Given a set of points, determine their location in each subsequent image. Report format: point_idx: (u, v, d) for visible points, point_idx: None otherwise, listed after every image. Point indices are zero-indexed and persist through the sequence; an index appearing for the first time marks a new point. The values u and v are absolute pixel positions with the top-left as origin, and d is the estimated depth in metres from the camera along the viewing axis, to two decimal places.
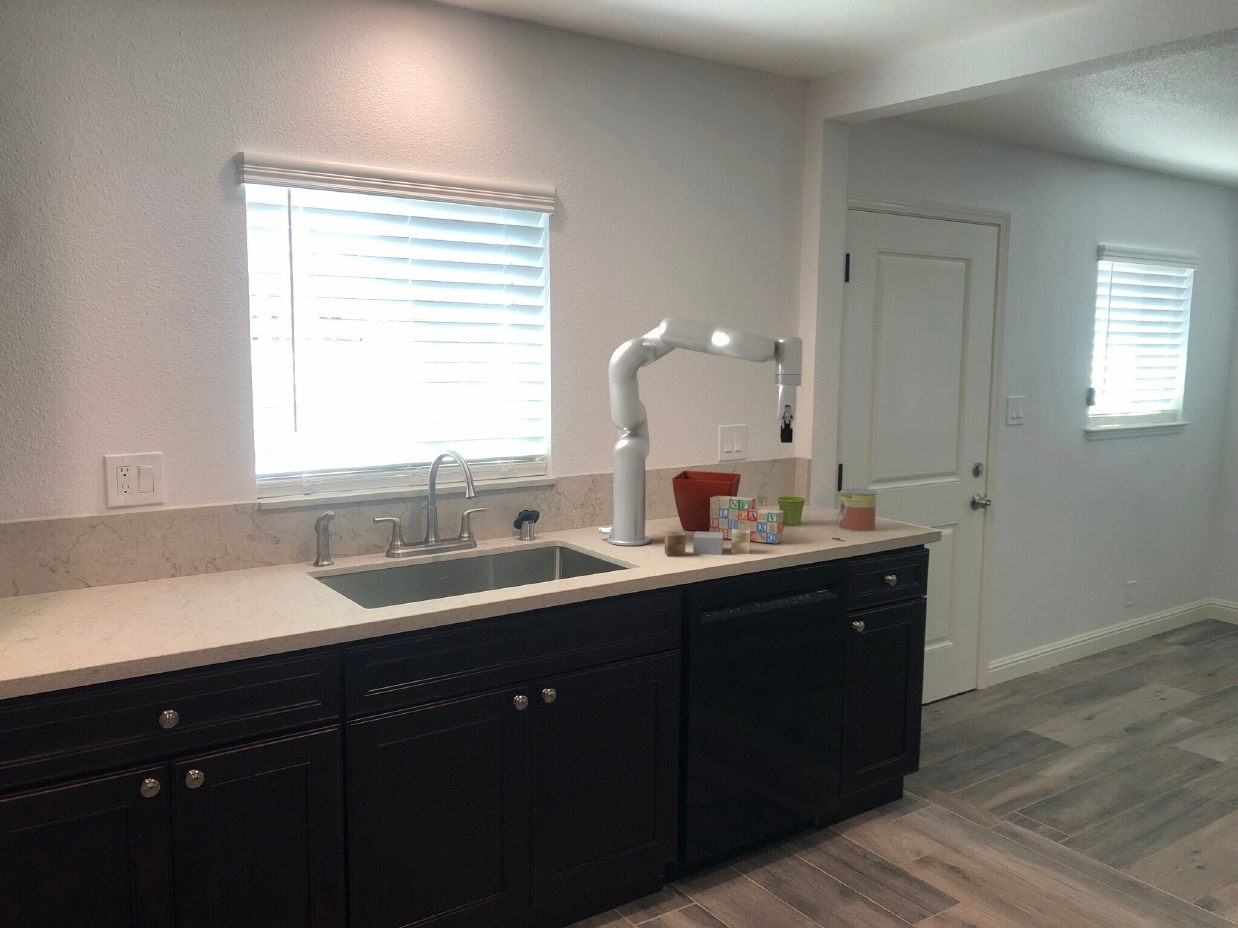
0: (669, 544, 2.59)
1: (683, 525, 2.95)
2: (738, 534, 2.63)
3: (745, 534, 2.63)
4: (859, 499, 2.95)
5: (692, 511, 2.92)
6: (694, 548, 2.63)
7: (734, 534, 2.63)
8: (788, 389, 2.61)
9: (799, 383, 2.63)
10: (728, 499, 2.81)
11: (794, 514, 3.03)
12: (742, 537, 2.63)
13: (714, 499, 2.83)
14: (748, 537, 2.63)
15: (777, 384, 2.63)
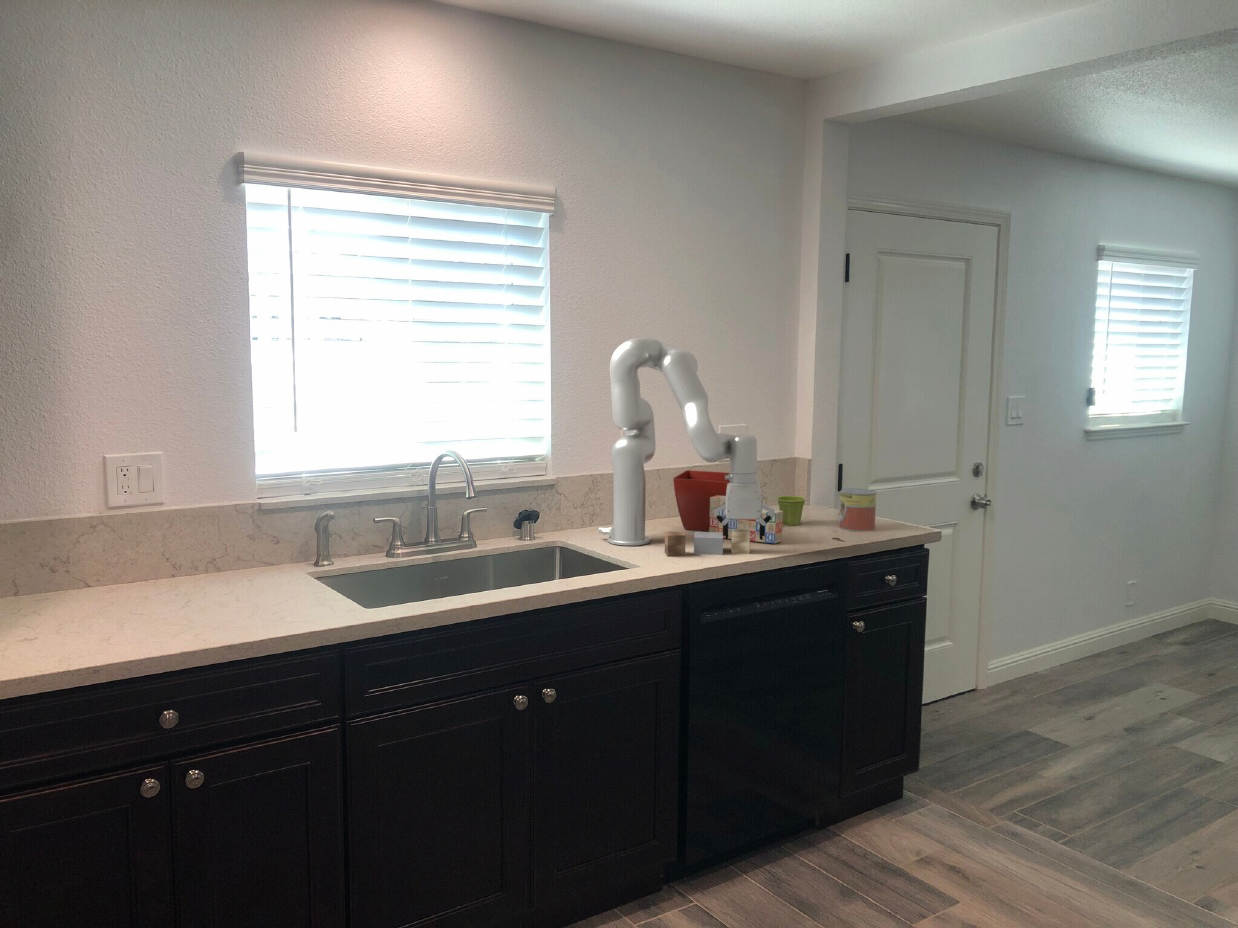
0: (669, 544, 2.59)
1: (684, 524, 2.96)
2: (738, 534, 2.63)
3: (745, 534, 2.63)
4: (859, 499, 2.95)
5: (693, 510, 2.93)
6: (695, 548, 2.63)
7: (734, 534, 2.63)
8: None
9: None
10: None
11: (794, 514, 3.03)
12: (742, 537, 2.63)
13: (714, 499, 2.84)
14: (748, 537, 2.63)
15: (751, 483, 2.61)
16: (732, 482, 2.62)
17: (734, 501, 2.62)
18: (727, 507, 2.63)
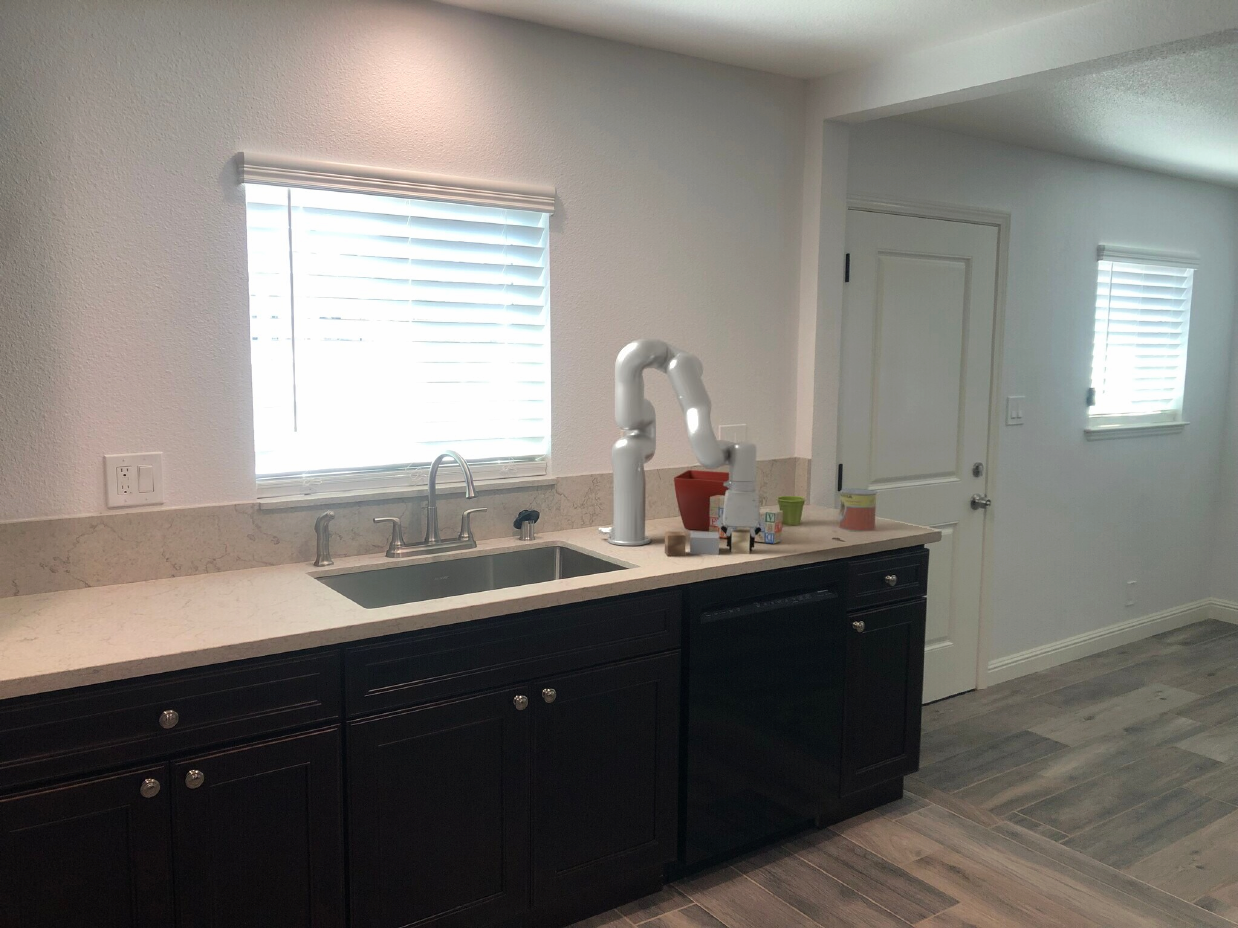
0: (669, 544, 2.59)
1: (685, 524, 2.97)
2: (738, 534, 2.63)
3: (745, 534, 2.63)
4: (859, 499, 2.95)
5: (693, 510, 2.94)
6: (691, 548, 2.63)
7: (734, 534, 2.63)
8: None
9: None
10: None
11: (794, 514, 3.03)
12: (742, 537, 2.63)
13: (714, 498, 2.84)
14: (748, 537, 2.63)
15: (750, 491, 2.61)
16: (730, 489, 2.62)
17: (732, 508, 2.62)
18: (725, 514, 2.63)
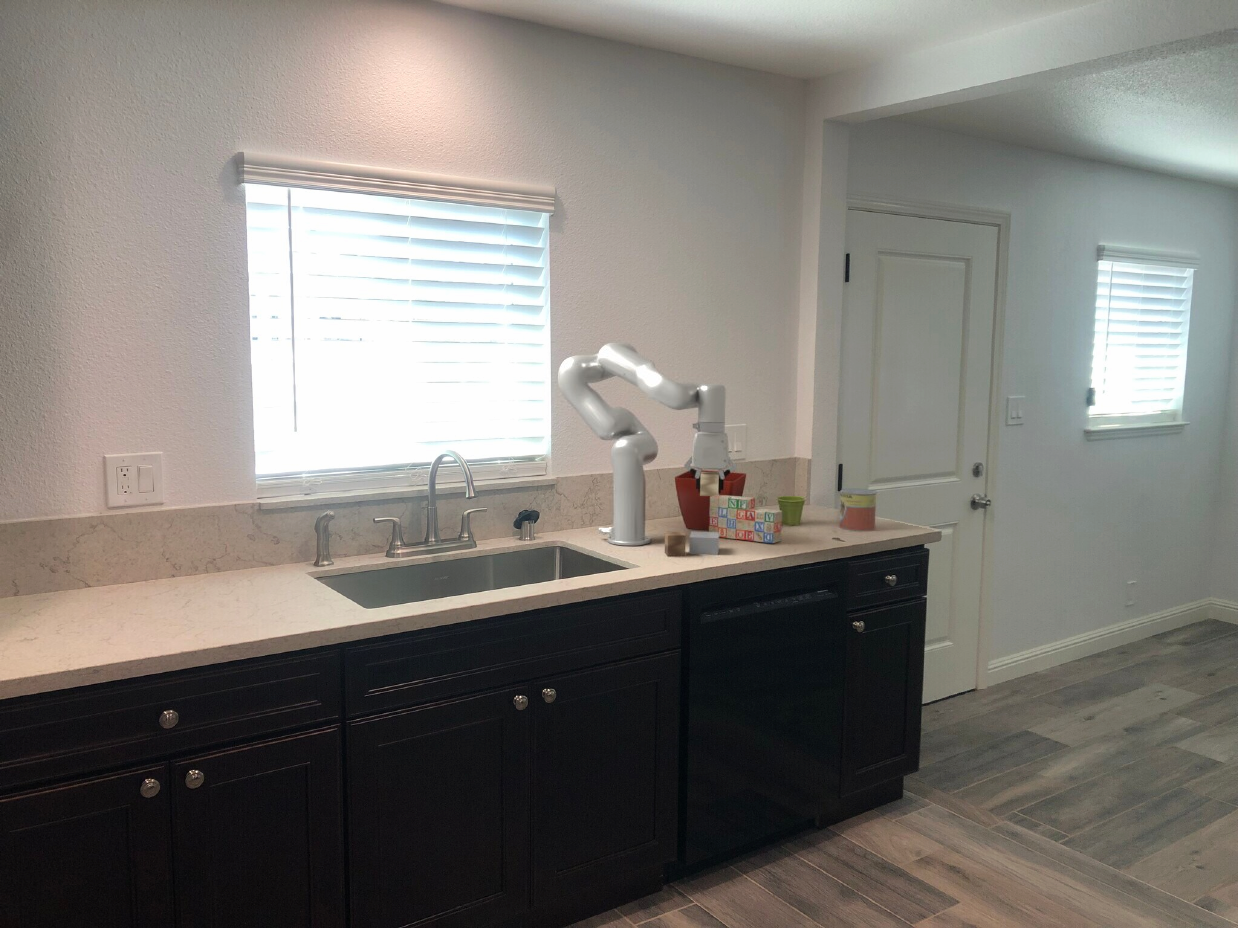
0: (669, 544, 2.59)
1: (686, 523, 2.98)
2: (707, 476, 2.62)
3: (714, 476, 2.61)
4: (859, 499, 2.95)
5: (694, 510, 2.95)
6: (690, 548, 2.63)
7: (703, 476, 2.62)
8: None
9: None
10: (727, 498, 2.83)
11: (794, 514, 3.03)
12: (711, 479, 2.62)
13: (714, 498, 2.85)
14: (717, 479, 2.61)
15: (718, 432, 2.59)
16: (699, 431, 2.61)
17: (701, 450, 2.61)
18: (694, 456, 2.61)
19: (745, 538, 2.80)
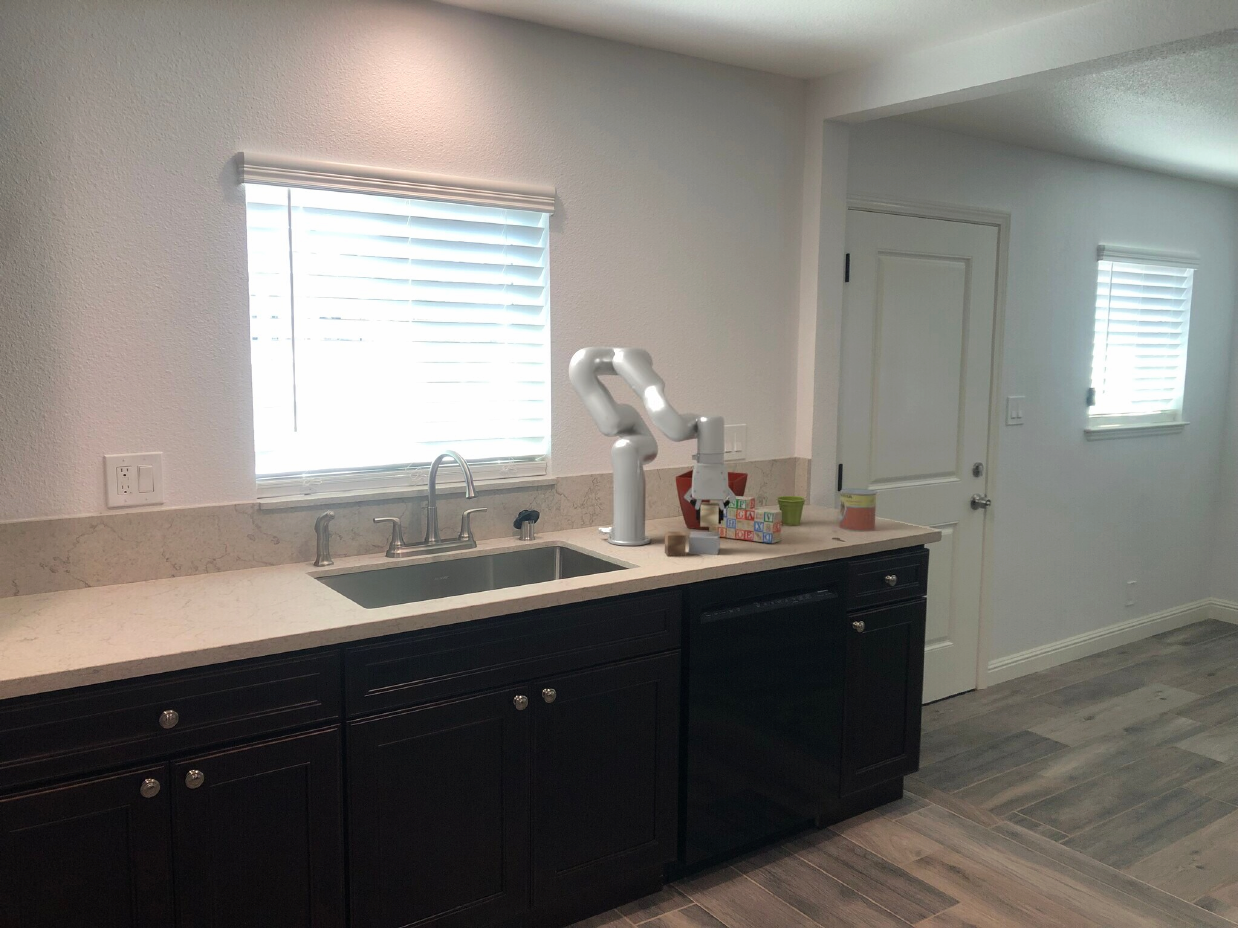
0: (669, 544, 2.59)
1: (687, 523, 2.98)
2: (707, 507, 2.63)
3: (714, 507, 2.62)
4: (859, 499, 2.95)
5: (695, 509, 2.95)
6: (689, 548, 2.63)
7: (703, 507, 2.63)
8: None
9: None
10: (727, 498, 2.83)
11: (794, 514, 3.03)
12: (711, 510, 2.63)
13: None
14: (717, 510, 2.62)
15: (718, 463, 2.60)
16: (699, 462, 2.62)
17: (700, 481, 2.62)
18: (693, 487, 2.62)
19: (745, 538, 2.81)
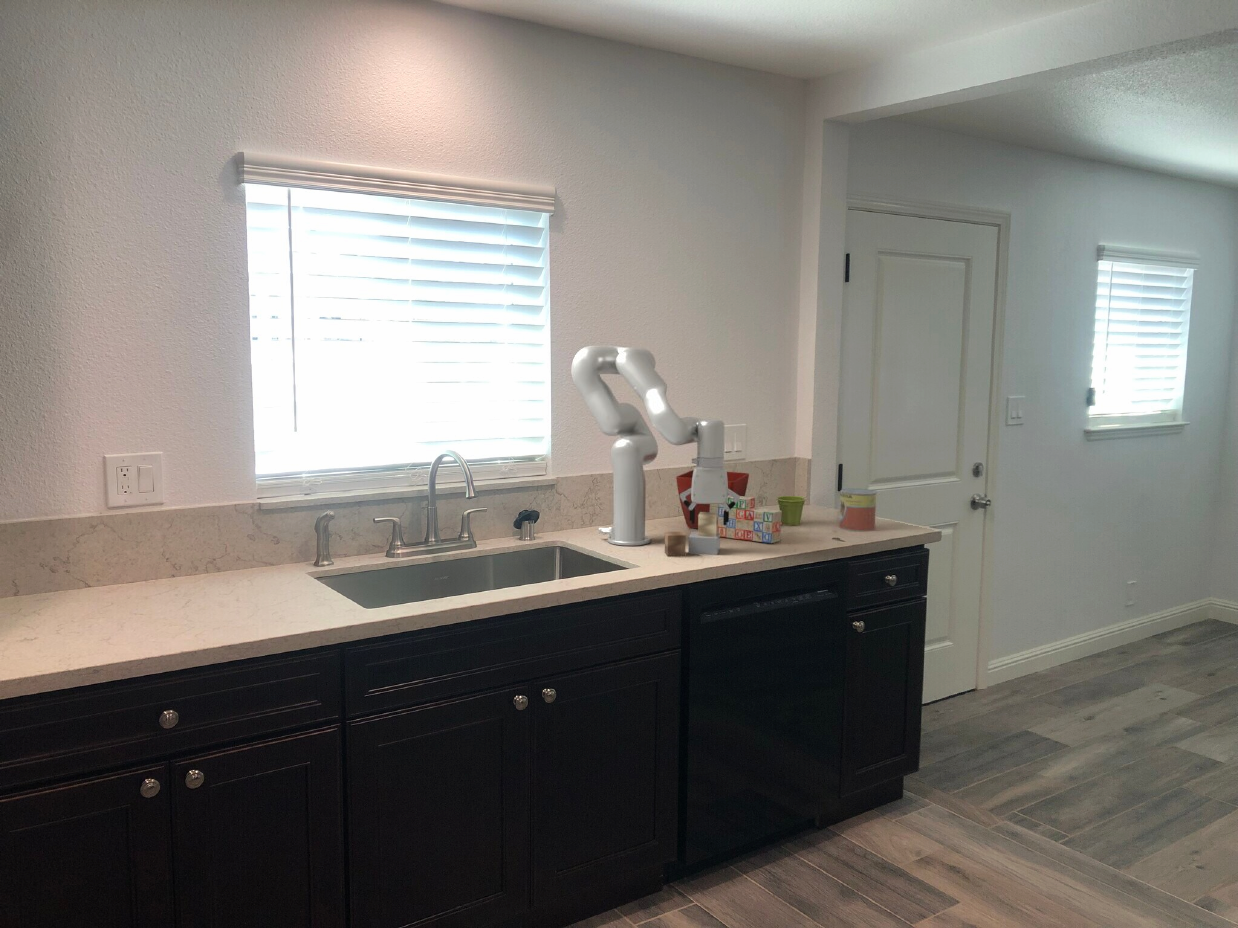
0: (669, 544, 2.59)
1: (687, 523, 2.99)
2: (705, 517, 2.63)
3: (712, 517, 2.63)
4: (859, 499, 2.95)
5: (695, 509, 2.96)
6: (689, 548, 2.63)
7: (701, 517, 2.63)
8: (726, 471, 2.63)
9: None
10: (727, 498, 2.83)
11: (794, 514, 3.03)
12: (709, 520, 2.63)
13: None
14: (715, 520, 2.63)
15: (717, 467, 2.61)
16: (698, 466, 2.62)
17: (700, 485, 2.62)
18: (693, 491, 2.63)
19: (744, 538, 2.81)
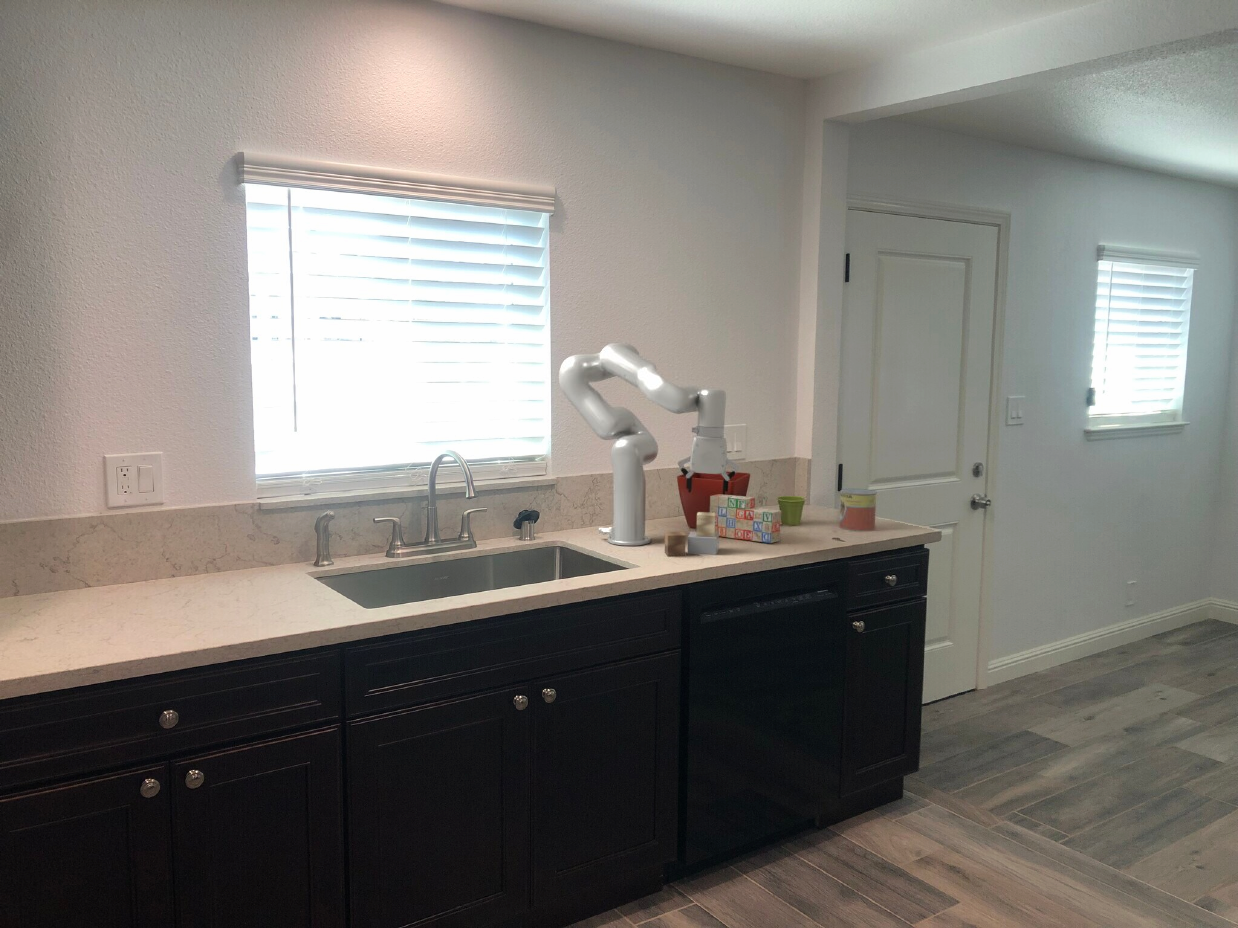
0: (669, 544, 2.59)
1: (688, 522, 2.99)
2: (703, 516, 2.63)
3: (710, 517, 2.63)
4: (859, 499, 2.95)
5: (696, 509, 2.96)
6: (688, 548, 2.63)
7: (699, 516, 2.63)
8: None
9: None
10: (726, 498, 2.84)
11: (794, 514, 3.03)
12: (707, 519, 2.63)
13: (714, 497, 2.86)
14: (713, 519, 2.63)
15: (717, 437, 2.60)
16: (698, 435, 2.61)
17: (699, 454, 2.61)
18: (692, 460, 2.62)
19: (744, 537, 2.81)
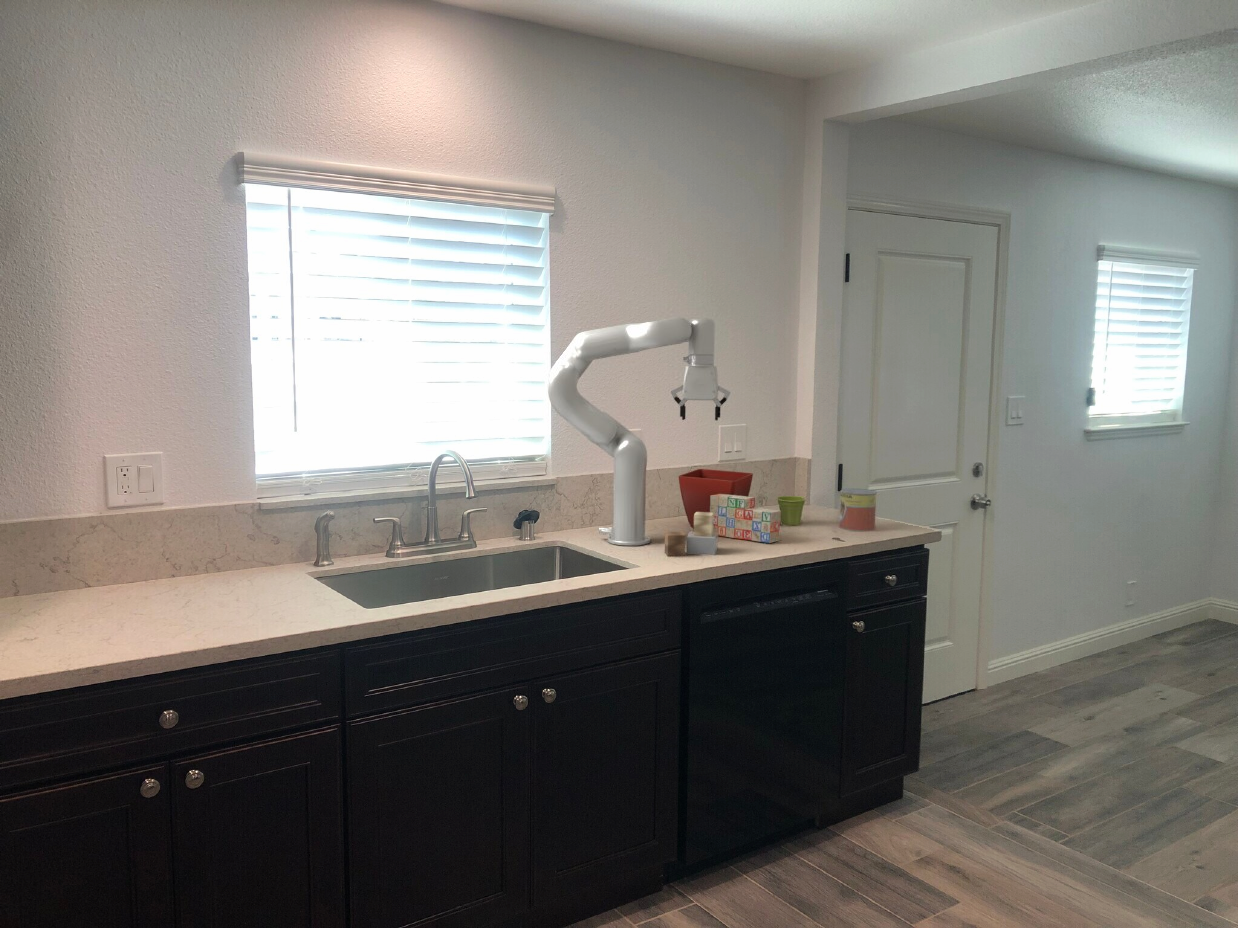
0: (669, 544, 2.59)
1: (690, 522, 3.00)
2: (700, 516, 2.63)
3: (707, 517, 2.63)
4: (859, 499, 2.95)
5: (697, 508, 2.97)
6: (687, 548, 2.63)
7: (696, 516, 2.63)
8: None
9: None
10: (726, 497, 2.84)
11: (794, 514, 3.03)
12: (704, 519, 2.63)
13: (714, 497, 2.87)
14: (710, 520, 2.63)
15: (708, 364, 2.70)
16: (690, 363, 2.72)
17: (691, 382, 2.72)
18: (684, 388, 2.72)
19: (743, 537, 2.81)
